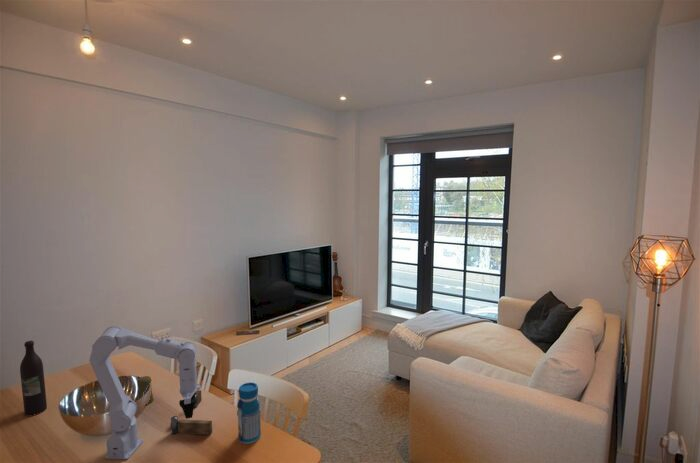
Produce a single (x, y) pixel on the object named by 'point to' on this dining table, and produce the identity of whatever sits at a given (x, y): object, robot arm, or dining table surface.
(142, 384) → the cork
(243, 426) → the beverage bottle
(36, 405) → the wine bottle
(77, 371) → the dining table surface
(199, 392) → the hammer
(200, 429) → the handle
